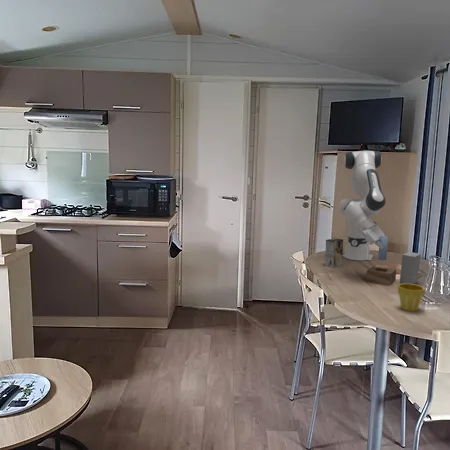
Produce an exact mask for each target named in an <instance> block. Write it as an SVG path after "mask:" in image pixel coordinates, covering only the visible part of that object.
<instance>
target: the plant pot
mask: <svg viewBox="0 0 450 450" xmlns="http://www.w3.org/2000/svg"><path fill="white" fill-rule="evenodd" d="M397 293H398V296H399V302H400V308H401V309H402V310H405V311H409V312H416V311H418V309H419V305H420V303H421V301H422V298H423V297H424V295H425V287H423V286H422V285H419V284H417V283H415V284H408V283H400V284H398V287H397Z"/></svg>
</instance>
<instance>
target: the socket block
mask: <svg viewBox="0 0 450 450" xmlns="http://www.w3.org/2000/svg"><path fill="white" fill-rule="evenodd" d="M396 277H397V269H395V268H388V267H381V266H372V267H370V268H368V269H367V270H366V278H365V279H366V280H365V282H366V283H373V284H376V285H377V284H378V285H385V286H388V287H389V286H391V285H392V284H394V283H395V281H396V280H397V278H396Z"/></svg>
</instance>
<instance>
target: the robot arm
mask: <svg viewBox="0 0 450 450" xmlns="http://www.w3.org/2000/svg"><path fill="white" fill-rule="evenodd" d="M382 163H383V156H382V153H381V152H380V151H378V150H358V151H347V152H346V153H345V154H344V158H343V165H344V167H345V168H346V169H348V170H351V175H350V177H351V178H350V190H351V192H353V193H354V194H357V196H359V197H360V198H354V197H353V198H351V197H349V198H343V199H341V200H340V202H339V203H338V210H339V213H341V215H343V216H344V217H345V219H346V220H347V223H348V236H347V243H346V244H345V247H344V254H343V255H342V258H345V259H348V260H351V261H372V260H373V257H374V254H371V253H370V252H371V248H370V246H372V245H375V246H377V248H378V249H379V248H380V249H383V248H384V246H383V245H382V244H381V243H380V242H379V240H380V236H386V235H385V233H384V231H383V230H382V229H381V228H380V227H379V226H378V223H377V222H376V221H374V220H373V219H372V217H376V216H378V215H379V214H380V212H381V209H382V208H384V206H385V205H386V201H387V200H386V196H385V195H384V193H383V191H382V187H381V182H380V178H379V174H378V172H377V170H376V169H377V168H380V167H381V165H382Z"/></svg>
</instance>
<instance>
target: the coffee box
mask: <svg viewBox="0 0 450 450" xmlns="http://www.w3.org/2000/svg"><path fill="white" fill-rule="evenodd" d="M343 249H344V239H341V238H329V239H326V240H325V259H324V266H326V267H330V268H337V267H340V266H343V256H342V255H344V254H343V252H344V251H343Z"/></svg>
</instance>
